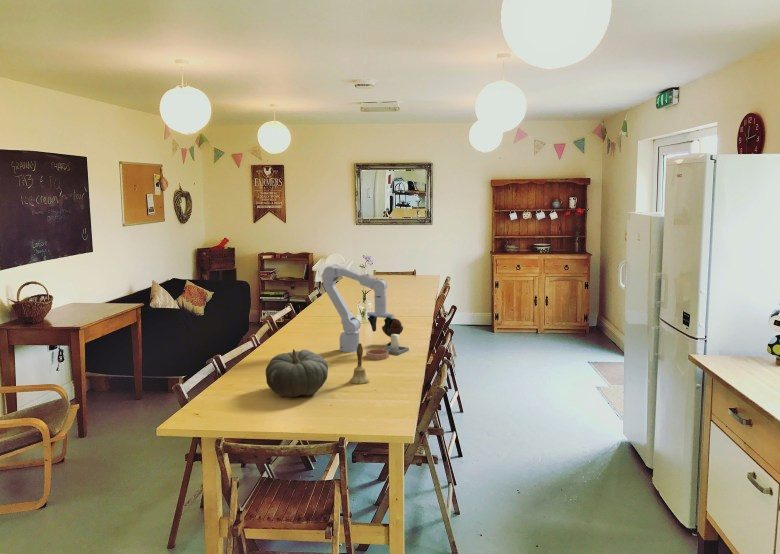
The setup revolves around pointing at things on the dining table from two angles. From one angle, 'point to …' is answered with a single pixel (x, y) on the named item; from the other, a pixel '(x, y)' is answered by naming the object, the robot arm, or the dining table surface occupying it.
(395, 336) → the peg
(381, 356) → the terracotta bowl
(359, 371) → the hand bell
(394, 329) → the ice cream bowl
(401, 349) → the tray
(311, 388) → the gourd
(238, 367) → the dining table surface
